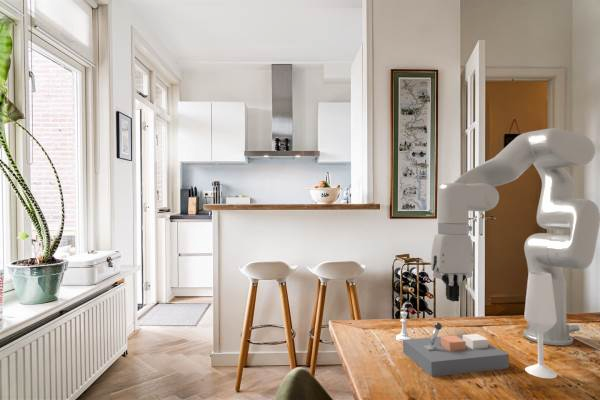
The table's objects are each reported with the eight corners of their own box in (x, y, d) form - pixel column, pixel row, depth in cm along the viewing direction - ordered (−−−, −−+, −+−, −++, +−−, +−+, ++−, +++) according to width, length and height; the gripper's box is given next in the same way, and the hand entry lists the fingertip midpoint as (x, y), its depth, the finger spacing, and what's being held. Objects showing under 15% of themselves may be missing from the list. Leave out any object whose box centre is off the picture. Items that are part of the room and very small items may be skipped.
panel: (471, 346, 111) (471, 332, 111) (508, 368, 96) (508, 352, 96) (403, 352, 107) (403, 338, 107) (431, 376, 92) (431, 360, 92)
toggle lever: (431, 345, 102) (440, 323, 102) (435, 348, 100) (444, 325, 100) (425, 343, 101) (434, 320, 102) (429, 345, 100) (438, 322, 100)
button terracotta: (455, 344, 104) (455, 335, 104) (465, 351, 100) (465, 341, 100) (440, 346, 104) (440, 336, 104) (450, 352, 99) (450, 342, 99)
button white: (477, 342, 106) (477, 333, 106) (488, 348, 101) (487, 339, 101) (462, 344, 105) (462, 334, 105) (473, 350, 100) (472, 340, 100)
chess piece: (413, 342, 115) (413, 308, 115) (396, 341, 116) (395, 308, 116) (412, 336, 119) (411, 304, 119) (395, 335, 120) (395, 303, 120)
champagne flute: (524, 364, 99) (523, 270, 99) (556, 369, 95) (555, 272, 95) (524, 374, 93) (523, 274, 93) (558, 380, 90) (557, 277, 90)
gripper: (469, 229, 107) (469, 295, 107) (419, 229, 104) (419, 297, 104) (487, 231, 100) (487, 302, 99) (434, 231, 97) (434, 305, 97)
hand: (452, 300), depth 102 cm, fingers closed
